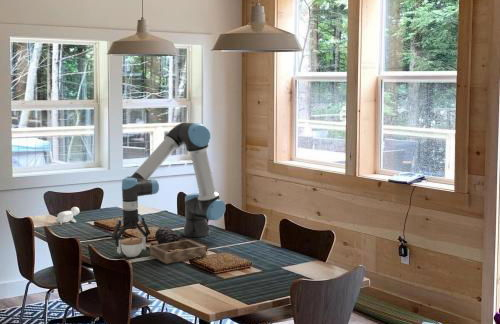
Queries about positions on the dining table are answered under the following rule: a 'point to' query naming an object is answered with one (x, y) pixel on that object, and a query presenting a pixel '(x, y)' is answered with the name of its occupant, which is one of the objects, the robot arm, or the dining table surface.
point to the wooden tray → (189, 251)
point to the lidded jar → (131, 246)
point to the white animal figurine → (67, 215)
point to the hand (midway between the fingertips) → (131, 250)
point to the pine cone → (166, 235)
